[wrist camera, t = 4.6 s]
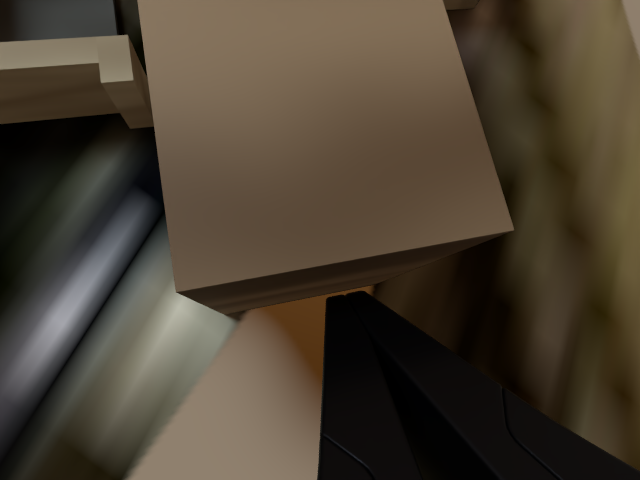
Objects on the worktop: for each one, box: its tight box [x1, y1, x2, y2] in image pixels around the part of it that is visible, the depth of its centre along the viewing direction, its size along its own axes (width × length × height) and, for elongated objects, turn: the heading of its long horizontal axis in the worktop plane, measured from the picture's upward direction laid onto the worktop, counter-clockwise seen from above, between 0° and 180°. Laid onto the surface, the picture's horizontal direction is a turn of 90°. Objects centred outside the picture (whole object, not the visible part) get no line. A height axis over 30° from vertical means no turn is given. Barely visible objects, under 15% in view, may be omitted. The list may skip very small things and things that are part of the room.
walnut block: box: [137, 0, 514, 314], centre depth 12 cm, size 15×6×9 cm, turn 11°
